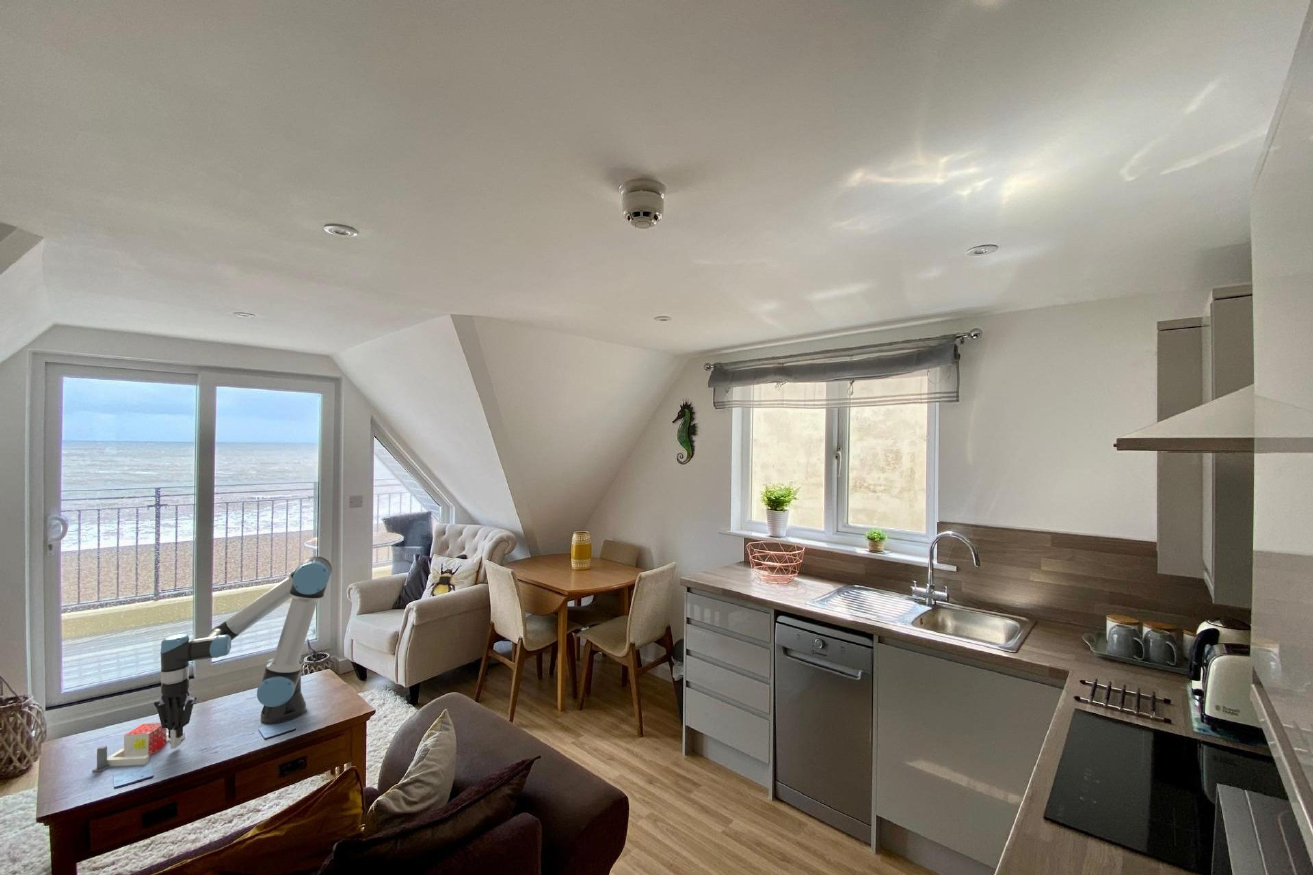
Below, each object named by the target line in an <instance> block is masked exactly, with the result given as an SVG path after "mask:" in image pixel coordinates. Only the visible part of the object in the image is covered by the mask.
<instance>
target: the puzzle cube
mask: <svg viewBox="0 0 1313 875" xmlns="http://www.w3.org/2000/svg"><path fill="white" fill-rule="evenodd" d="M166 733H167V728H162V726H161V722H152V723H151V722H150V723H142V724H141V725H139V726H137V727H135V728H134V729H132V730H130V731H128V732H127V733H125V734H124V735H123V748H124V757H131V756H149V757H150V756H151V755H153V754H155V753H156V752H157V751H159V750H160V749H161V748H163V747H164V746H166V745H167V741H166Z"/></svg>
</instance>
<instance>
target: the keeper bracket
mask: <svg viewBox="0 0 1313 875" xmlns="http://www.w3.org/2000/svg"><path fill="white" fill-rule="evenodd" d="M185 735H186V732H185V731H183V735H182V736H181V741H182V740H184V739H185V738H186V736H185ZM166 742H170V738H169V737H168V732H166ZM148 763H150V756H131V757H124V747H122V748H120V749H119V750H117V751H116V752H114V753H112V754H111V755H109V756H108V746H107V745H102V746H99V747H97V748H96V767H95V768H93V769H92V770H91V772H92V773H96V772H97V773H98V772H104V771H106V770H107V769H109V768H110V767H111V768H112V767H126V766H127V767H129V766H143V765H144V766H145V765H147V764H148Z"/></svg>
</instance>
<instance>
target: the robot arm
mask: <svg viewBox="0 0 1313 875" xmlns="http://www.w3.org/2000/svg"><path fill="white" fill-rule="evenodd" d="M332 570H333V568H332V565H331V563H330V561H329V560H328V559H326V558H325V557H323V556H311V557H309V558H306V559H305V560H304V561H302V562H301V563H300V565H298V566H297V567H296V568H295V569H293V570H292V571H290V572H289V574H288V576H287V578H285V579H284V580H282V581H281V582H279V583H278V584H275V586H273V587H272V588H270V589H269V590H268V591H266V592H265V593H264V594H262V595H261V596H259V597H258V598H256V599H255V600H253V601H252V602H251V603H249V604H248V605H246V606H244V607H243V608H242V609H241V610H239V611H237V612H236V613H235V614H233V615H231V616H230V617H229V618H228V619H226V620H225V621H223V622H222V623H220V624H218V625H217V626H214V628H212V629H210V631H209V633H207V635H205V637H201V638H195V639H193V638H192V639H191V638H190V637H189V636H190V635H189V634H186V633H182V634H181V633H180V634H179V633H178V634H174V635H170V636H167V637H165V638H163V639H162V641H161V644H160V652H159V653H160V682H161V685H160V693H161V698H159V699H158V700H156V701H155V702H154V703H153V705H154V707H155V708H156V709H157V713H158V717H159V721H160V722H159V723H161V726H162V728H166V730H168V731H167V733H168V737H169V738H170V741H169V742H170V750H171V749H176V748H178V747H180V746H181V745H182V740H181V736H182V735H183V732H184V727H186V726H187V725H189V724H190V722H191V717H192V712H193V709H194V704H195V702H196V701H197V699H198V698H197V697H196V696H194V697H192V696H190V693H189V688H190V678H189V676H190V669H189V668H190V662H194V661H200V660H201V661H202V660H208V659H217V658H220V657H225V656H227V655H229V654H230V652H231V650H232V641H233V640H235V639H236V638H237V637H239V635H241V634H242V633H244V632H245V631H246V630H248V629H249V628H251V627H252V626H254V625H255V624H257V623H258V622H259V621H260V620H263V619H264V618H265V617H267V616H268V615H269V614H271V613H272V612H273V611H275V610H277V609H278V608H279V607H281V606H282V605H283V604H285V603H286V602H288V601H289V600H290V599H291V602H290V604H289V608H288V612H287V614H286V617H285V620H284V623H283V627H282V629H281V633H280V637H279V639H278V643H277V645H276V649H275V653H274V656H273V657H272V658H270V659H268V660H267V661H266V665H265V669H264V672H263V675H262V678H261V681H260V684H259V686H257V688H256V689H257V690H256V698H257V700H258V702H259V703H260V704H261V705H262V706H263V707H262V709H261V713H260V722H262V723H264V724H278V723H285V722H287V721H290V720H293V719H296V718H299V717H300V716H302V715H303V714H304V713H305V712H306V710H307V704H306V703H307V702H306V701H305V699H304V695H303V693H302V662H303V661H302V657H301V656H302V653H303V649H304V646H305V642H306V639H307V636H308V633H309V630H310V627H311V625H312V624H311V622H312V619H313V616H314V613H315V610H316V607H317V603H318V601H320V600H321V599H323V598H324V595H325V593H326V589H327V586H328V583H329V580H330V577H331V574H332V572H333V571H332Z"/></svg>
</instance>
